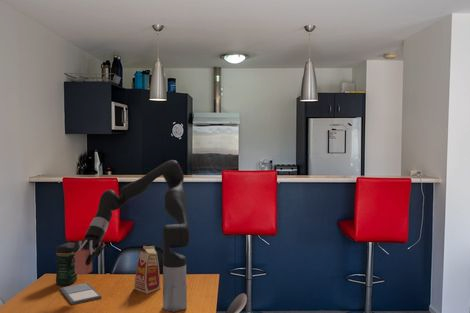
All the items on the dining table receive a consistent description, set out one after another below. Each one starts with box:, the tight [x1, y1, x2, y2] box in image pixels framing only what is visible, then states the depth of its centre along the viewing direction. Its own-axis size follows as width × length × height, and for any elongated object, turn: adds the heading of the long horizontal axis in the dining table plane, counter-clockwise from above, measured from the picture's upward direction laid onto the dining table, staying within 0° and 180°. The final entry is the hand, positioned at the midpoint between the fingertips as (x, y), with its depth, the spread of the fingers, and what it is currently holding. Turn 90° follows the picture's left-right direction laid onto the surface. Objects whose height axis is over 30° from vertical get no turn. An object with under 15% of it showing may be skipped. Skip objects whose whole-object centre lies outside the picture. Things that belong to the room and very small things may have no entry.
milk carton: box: [133, 245, 161, 295], centre depth 182 cm, size 9×9×20 cm
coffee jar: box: [55, 241, 78, 286], centre depth 189 cm, size 10×8×19 cm
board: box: [59, 282, 102, 305], centre depth 175 cm, size 20×12×1 cm, turn 36°
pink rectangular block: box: [75, 249, 93, 276], centre depth 171 cm, size 5×5×9 cm
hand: (80, 263), depth 169 cm, fingers closed on pink rectangular block, 5 cm apart
